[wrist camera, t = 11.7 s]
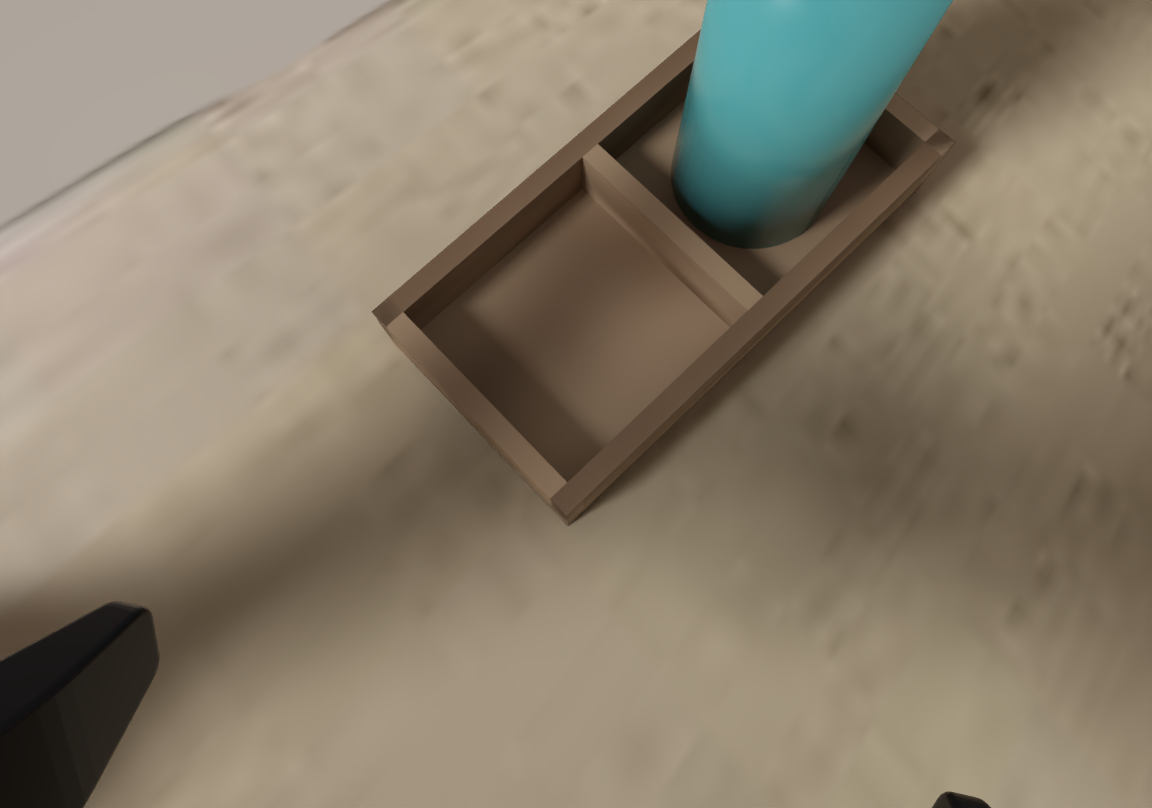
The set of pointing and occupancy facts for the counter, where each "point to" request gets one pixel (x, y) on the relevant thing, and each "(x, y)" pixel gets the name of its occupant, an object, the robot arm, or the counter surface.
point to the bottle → (786, 107)
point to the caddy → (622, 290)
